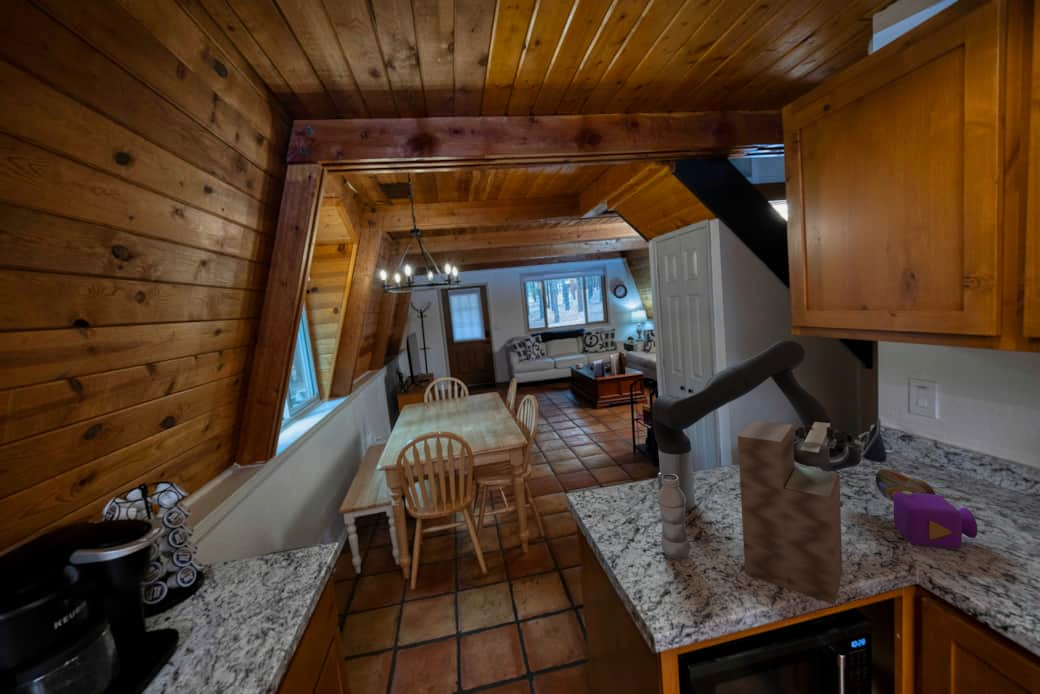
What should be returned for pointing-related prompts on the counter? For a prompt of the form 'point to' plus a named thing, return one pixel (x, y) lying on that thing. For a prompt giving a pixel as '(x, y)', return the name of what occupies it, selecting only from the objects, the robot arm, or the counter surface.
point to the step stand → (788, 515)
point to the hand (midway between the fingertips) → (818, 430)
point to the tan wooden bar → (814, 447)
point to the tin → (900, 483)
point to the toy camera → (932, 520)
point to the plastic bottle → (673, 518)
